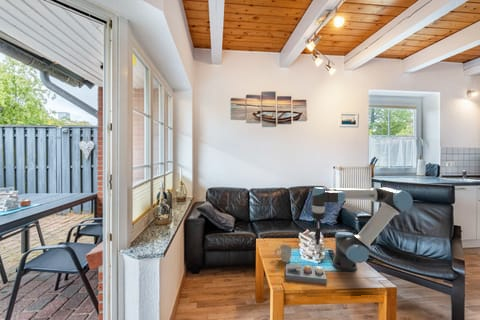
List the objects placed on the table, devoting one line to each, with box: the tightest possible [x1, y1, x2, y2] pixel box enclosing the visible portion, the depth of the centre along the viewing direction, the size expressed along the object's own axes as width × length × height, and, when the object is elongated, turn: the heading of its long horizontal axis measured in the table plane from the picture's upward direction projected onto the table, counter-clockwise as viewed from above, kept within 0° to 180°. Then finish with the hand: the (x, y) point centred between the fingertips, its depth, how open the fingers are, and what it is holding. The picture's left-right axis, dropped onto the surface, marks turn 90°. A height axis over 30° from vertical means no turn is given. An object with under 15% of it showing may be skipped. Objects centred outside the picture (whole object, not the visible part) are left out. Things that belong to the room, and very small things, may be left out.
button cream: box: [315, 265, 324, 275], centre depth 143 cm, size 4×4×3 cm
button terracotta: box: [303, 264, 312, 273], centre depth 145 cm, size 4×4×3 cm
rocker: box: [288, 262, 302, 270], centre depth 147 cm, size 8×5×1 cm, turn 77°
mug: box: [274, 244, 293, 263], centre depth 167 cm, size 8×13×10 cm, turn 78°
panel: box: [285, 263, 328, 285], centre depth 145 cm, size 24×14×4 cm, turn 78°
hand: (317, 248), depth 145 cm, fingers closed
